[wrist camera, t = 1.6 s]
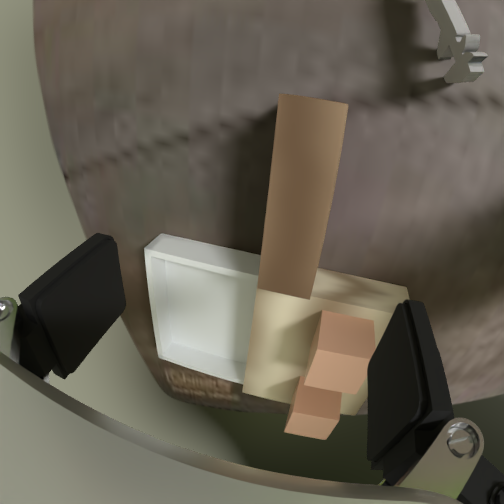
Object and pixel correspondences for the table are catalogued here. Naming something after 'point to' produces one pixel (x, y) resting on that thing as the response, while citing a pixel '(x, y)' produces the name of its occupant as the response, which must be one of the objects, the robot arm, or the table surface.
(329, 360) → the pink cube
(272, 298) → the beige flat block
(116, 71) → the table surface
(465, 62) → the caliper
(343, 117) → the brown tapered block
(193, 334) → the tray
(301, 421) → the tan wooden cube
